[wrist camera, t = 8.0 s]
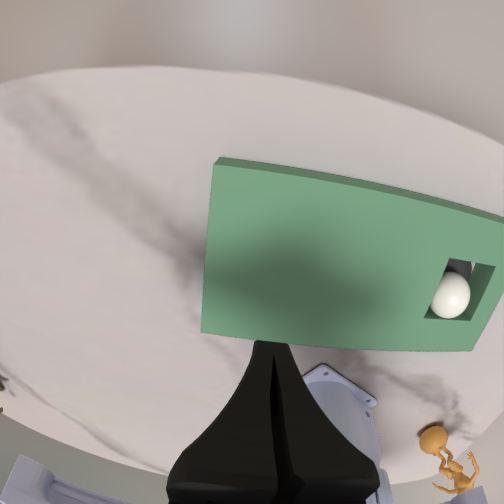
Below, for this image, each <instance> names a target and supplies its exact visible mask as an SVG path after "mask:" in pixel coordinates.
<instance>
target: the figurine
mask: <svg viewBox="0 0 504 504" xmlns="http://www.w3.org/2000/svg"><path fill="white" fill-rule="evenodd" d="M447 440H448V435H447V432H446V430H445V429H444V428H442V427H440V426H432V427H429V428H428V429H426V430H425V431H424V432H423V433H422V435H421V437H420V441H419V444H420V448H421V449H422V451H424V452H425V453H427V454H433V455H434V456H438V457H439V458H440V459H441V460H442V462H441V464H440V467H439V472H442V473H443V474H445V475H446V476H447V477H448V478H449V479H450V480H451V479H452V478H454V488H455V489H454V490H448V489H446V488H443V487H440V486H437V485H435V484H434V483H433V485H434V486H435V487H436V488H438V489H440V490H442V491H445V492H447V493H449V494H455V493H458V495H459V494H460V493H462V492H465V491H467V490H470V489H473V487H474V481H475V479H476V477H477V475H478V473H479V468H478V466H477V463H476V461H475V459H474V455H473V454H472V452H471V453H469V454H470V455H469V454H467V455H468V456H469V457H470V458H468V459H472V463H473V466H474V469H475V473H474V474H473V476H472V477H471V479H470V478H469V477H467V476H466V475H464V474H463V473H462V470H463V467H462V466H461V465H459V464H458V463H456V462H455V461H452V460H451V459H452V458H453V455H452V454H451V452H450V451H449V450H448V449H446V448H445V445H446V443H447ZM441 450H442V451H444V452H445V453H447V454H448V455H449V456H448V459H447V464H448V466H449V467H450V468H444V467H443V466H444V465H445V464H446V461H445V458H444V457H443V456H442V455H441V454H440V451H441Z"/></svg>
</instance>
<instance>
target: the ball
mask: <svg viewBox="0 0 504 504" xmlns="http://www.w3.org/2000/svg"><path fill="white" fill-rule="evenodd" d="M469 300H470V288H469V285H468V283H467V281H466V280H465V278H464V277H463V276H461V275H460V274H458V273H456V272H444V273H443V275H442V278H441V280H440V282H439V285H438V287H437V290H436V292H435V294H434V296H433V299H432V301H431V303H430V307H431V309H432V311H433V312H434V313H435V314H437V315H438V316H440V317H442V318H454V317H456V316H458V315H460V314H461V313H462V312H463V311H464V310H465V309H466V307H467V306H468V303H469Z"/></svg>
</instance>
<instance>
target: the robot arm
mask: <svg viewBox="0 0 504 504" xmlns="http://www.w3.org/2000/svg"><path fill="white" fill-rule="evenodd" d="M377 403H378V402H377V399H375V398H374V397H372V396H371V395H369V394H368V393H366V392H365V391H363V390H362V389H360V388H359V387H357V386H356V385H354V384H353V383H351V382H350V381H348V380H347V379H345V378H344V377H342V376H341V375H340V374H338V373H337V372H335V371H334V370H332V369H331V368H329V367H328V366H326V365H320V366H318V367H317V368H315V369H314V370H312V371H311V372H309V373H308V374H306V375H305V376H303V377H302V376H301V374H300V372H299V370H298V367H297V365H296V363H295V361H294V358H293V356H292V353H291V351H290V348H289V345H288V344H287V343H280V342H271V341H262V340H256V341H255V342H254V346H253V352H252V357H251V359H250V362H249V365H248V367H247V369H246V371H245V374H244V376H243V378H242V380H241V381H240V383H239V385H238V387H237V389H236V390H235V392H234V394H233V395H232V397H231V398H230V400H229V401H228V403H227V404H226V406H225V407H224V408H223V410H222V411H221V412H220V414H219V415H218V416H217V417H216V419H215V420H214V421H213V422H212V423H211V424H210V426H209V427H208V428H207V429H206V430H205V431H204V432H203V433H202V434H201V435H200V436H199V437H198V438H197V439H196V440H195V441H194V442H193V443H192V444H190V445H189V446H188V447H187V448H186V449H185V450H184V451H183V452H182V453H181V455H180V456H179V458H178V459H177V461H176V462H175V464H174V466H173V467H172V469H171V471H170V474H169V476H168V481H167V486H166V491H167V495H168V498H169V504H393V498H392V492H391V487H390V483H389V479H388V475H387V472H386V471H385V470H384V469H382V468H380V467H379V463H380V459H381V447H380V443H379V439H378V435H377V431H376V427H375V422H374V418H373V415H372V411H371V408H372V407H374V406H375V405H377ZM0 502H1V503H2V504H131V503H128V502H124V501H121V500H117V499H114V498H111V497H108V496H105V495H102V494H99V493H96V492H93V491H91V490H88V489H85V488H83V487H80V486H77V485H75V484H72V483H70V482H68V481H65V480H63V479H60V478H58V477H56V476H54V475H53V473H52V472H51V471H50V470H49V469H48V468H47V467H45V466H43V465H42V464H40V463H38V462H36V461H34V460H32V459H30V458H28V457H26V456H24V455H19V457H18V459H17V461H16V463H15V465H14V467H13V469H12V471H11V474H10V476H9V478H8V480H7V483H6V485H5V487H4V489H3V491H2V494H1V496H0ZM441 504H487V500H486V497H485V494H484V491H483V487H482V486H479V487H476V488H473V489H470V490H467V491H465V492H462V493H460V494H459V495H457V496H456V497H454V498H453V499H452V500H451V501H448V502H445V503H441Z"/></svg>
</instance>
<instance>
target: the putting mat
mask: <svg viewBox="0 0 504 504" xmlns="http://www.w3.org/2000/svg"><path fill="white" fill-rule="evenodd" d="M471 262H475V263H476V265H475V267H474V270H473V272H472V275H471V271H472V266H471ZM444 272H456V273H458V274H460V275H461V276H463V277H464V278H465V280H466V281H467V283H468V285H469V288H470V300H469V303H468V306H467V307H466V309H465V310H464V311H463V312H462V313H461V314H460V315H458V316H456V317H454V318H442V317H440V316H438V315H437V314H435V313H434V312H433V311H432V309H431V307H430V303H431V301H432V299H433V296H434V294H435V292H436V290H437V287H438V285H439V282H440V280H441V278H442V275H443V273H444ZM470 276H471V277H470ZM468 281H469V282H468ZM503 292H504V218H503V217H500V216H497V215H494V214H491V213H487V212H484V211H481V210H478V209H474V208H471V207H468V206H464V205H461V204H457V203H454V202H450V201H446V200H443V199H439V198H435V197H432V196H428V195H424V194H420V193H416V192H412V191H408V190H404V189H399V188H395V187H391V186H387V185H382V184H378V183H373V182H368V181H364V180H359V179H354V178H349V177H344V176H339V175H334V174H328V173H323V172H317V171H312V170H306V169H300V168H294V167H287V166H281V165H274V164H268V163H261V162H253V161H246V160H238V159H230V158H221V157H219V159H218V160H217V161H216V162H215V163H214V164H213V173H212V184H211V194H210V205H209V216H208V228H207V240H206V254H205V268H204V283H203V299H202V317H201V333H207V334H214V335H221V336H228V337H235V338H242V339H250V340H262V341H271V342H280V343H287V344H295V345H305V346H317V347H329V348H344V349H360V350H381V351H415V352H459V351H472V349H473V348H474V346H475V344H476V343H477V341H478V339H479V337H480V336H481V334H482V332H483V330H484V329H485V327H486V325H487V323H488V321H489V319H490V317H491V316H492V314H493V312H494V310H495V308H496V306H497V304H498V302H499V300H500V298H501V296H502V294H503Z"/></svg>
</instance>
